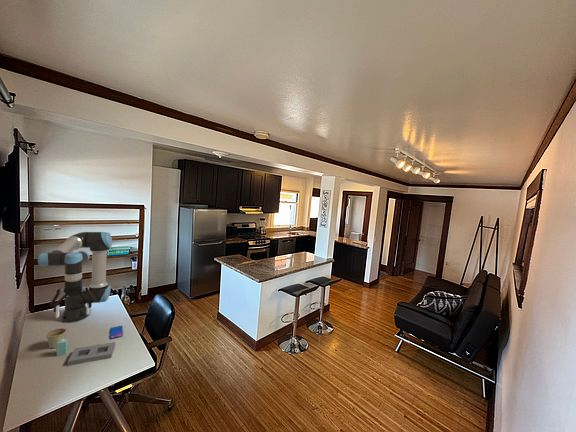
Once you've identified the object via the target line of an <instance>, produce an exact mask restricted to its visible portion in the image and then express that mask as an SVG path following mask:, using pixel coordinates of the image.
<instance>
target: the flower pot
mask: <svg viewBox="0 0 576 432" xmlns="http://www.w3.org/2000/svg"><path fill="white" fill-rule="evenodd" d="M66 332H67V329H66V328H64V327H59V328H55V329H51V330H49V331H47V332H46V333H45V337H46V339H47V343H48V347H49V349H57V342H58V341H59V340H60V339H65V335H66Z"/></svg>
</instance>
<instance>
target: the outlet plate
mask: <svg viewBox="0 0 576 432" xmlns="http://www.w3.org/2000/svg"><path fill="white" fill-rule="evenodd" d="M115 347H116V341H113V342H108V343H101V344H96V345H95V344H94V345H88V346H82V347H76V348H74V350H73V351H72V353H71V355H70V357H69V358H68V360H67V366H73V365H79V364H83V363H84V364H85V363H90V362H91V363H92V362H95V361H100V360H107V359H111V358H112V357H113V353H114V350H115Z"/></svg>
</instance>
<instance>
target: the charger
mask: <svg viewBox="0 0 576 432" xmlns="http://www.w3.org/2000/svg"><path fill="white" fill-rule="evenodd" d="M68 352H69V338H64V339H60V340H59V341H58V342H57V348H56V357H61V356H66V355H67V354H68Z"/></svg>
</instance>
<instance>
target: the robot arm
mask: <svg viewBox="0 0 576 432" xmlns="http://www.w3.org/2000/svg"><path fill="white" fill-rule="evenodd" d="M112 247H113V238H112V234H111V233H110V232H105V231H81V232H77V233H75V234H72V235H70V236H69V237H67V238H66V239H65V241H64V242H63V243H61V244H60V245H58V246H57V247H55V249H53V250H52V251H50V252H42V253H39V256H38V257H37V263H38V265H39V266H40V267H58V266H64V288H61V287H60V288H58V289H57V291H56V294H55V295H54V297H53V298H52V300H51V301H50V303H49V305H48V306H49V307H53V313H55V319H58V318H59V317H60V309H61V308H60V307H61V305H60V303H61V302H62V301H63V300H64V311H63V313H62V316H61V321H62V322H63V323H74V322H75V323H76V322H79V321H82V320H85V319H86V318H87V317H89V314H90V309H91V308H92V306H93V305H92V304H95V303H96V304H97V303H98V304H100V303H105V302H107V301H108V300H109V298H110V295H111V289H112V287H111V285H109V283H108V282H107V257H108V256H107V253H108V251H109V250H110V248H112ZM80 248H84V249H89V251H90V252H91V254H92V255H91V260H92V261H91V266H92V267H91V284H89V285H87V286H86V285H85V284H83V265H84V264H86V263H87V262H88V261H89V260H90V253H89V252H88V251H86V250H79V251H76V250H78V249H80ZM74 251H76V252H74ZM63 292H64V295H63V296H61V297H60V299H59V300H58V301H57V299H58V297H59V296H60V294H61V293H63ZM56 301H57V302H56Z"/></svg>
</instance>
